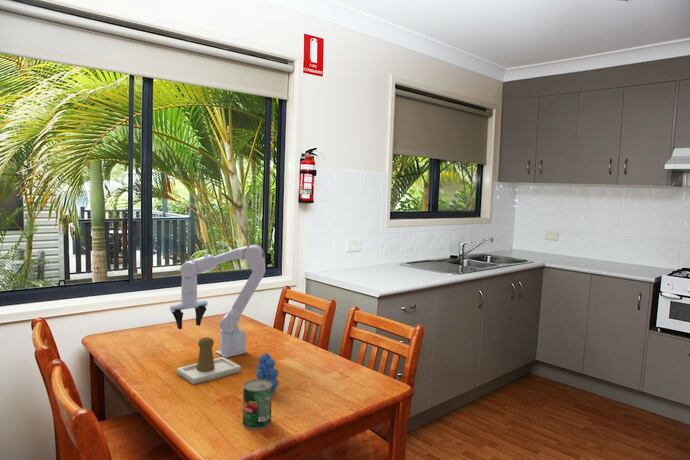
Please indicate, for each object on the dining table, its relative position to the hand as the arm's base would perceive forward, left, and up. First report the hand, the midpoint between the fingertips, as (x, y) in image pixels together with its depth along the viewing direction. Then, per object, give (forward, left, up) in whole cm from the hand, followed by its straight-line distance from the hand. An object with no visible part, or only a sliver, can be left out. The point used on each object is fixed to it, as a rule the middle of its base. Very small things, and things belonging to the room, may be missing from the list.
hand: (189, 326), depth 191 cm
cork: (+4, +21, -10) cm, 24 cm away
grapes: (-2, +48, -11) cm, 49 cm away
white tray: (+4, +23, -10) cm, 26 cm away
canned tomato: (+12, +64, -11) cm, 66 cm away
